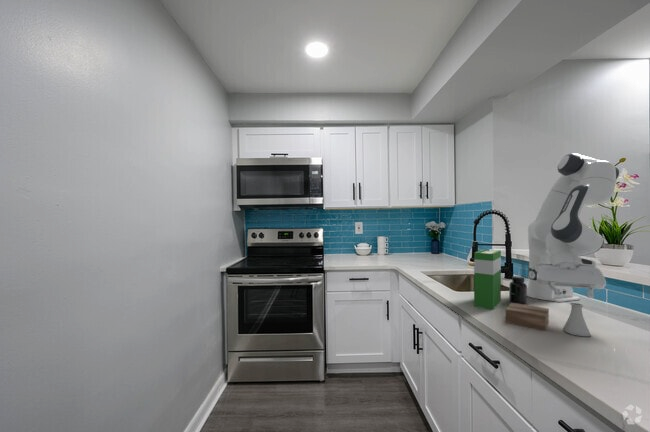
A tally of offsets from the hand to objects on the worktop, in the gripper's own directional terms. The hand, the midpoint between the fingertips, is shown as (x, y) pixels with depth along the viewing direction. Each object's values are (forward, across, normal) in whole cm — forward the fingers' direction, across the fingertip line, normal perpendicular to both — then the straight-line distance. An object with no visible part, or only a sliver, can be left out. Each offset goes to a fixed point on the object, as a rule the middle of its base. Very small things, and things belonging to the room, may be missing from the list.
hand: (574, 295), depth 106 cm
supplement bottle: (-11, -13, +27) cm, 32 cm away
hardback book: (-6, -26, +22) cm, 34 cm away
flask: (+13, -1, +3) cm, 14 cm away
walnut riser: (+9, -15, +6) cm, 19 cm away
